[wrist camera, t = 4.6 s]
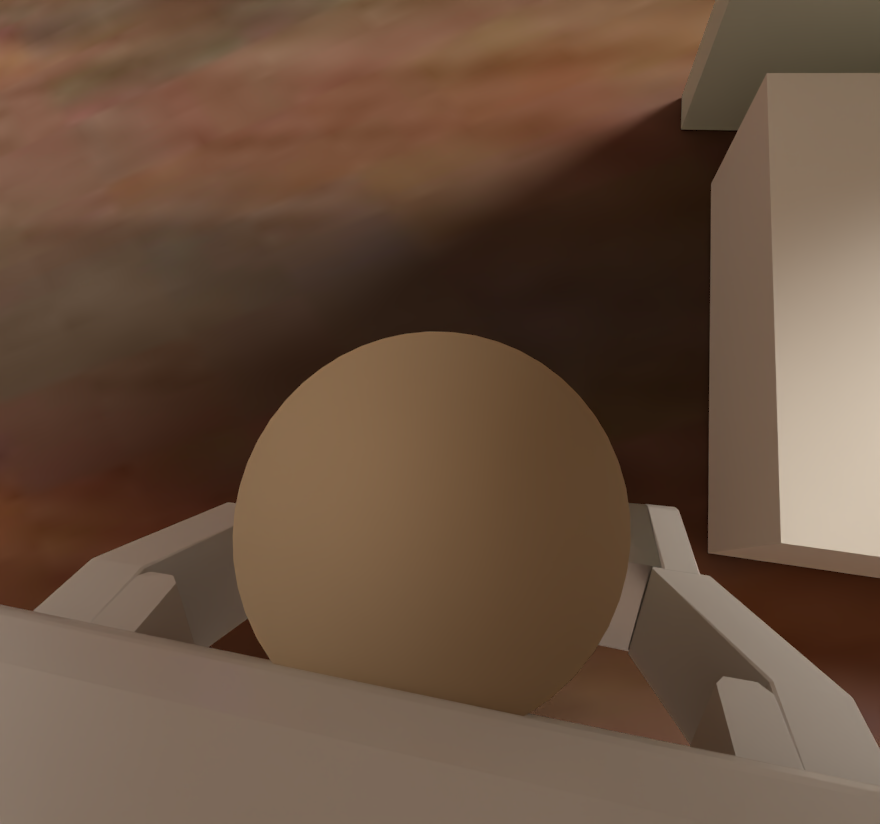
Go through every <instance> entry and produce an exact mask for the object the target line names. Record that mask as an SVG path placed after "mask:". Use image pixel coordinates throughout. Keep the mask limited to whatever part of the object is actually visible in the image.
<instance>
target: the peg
mask: <svg viewBox="0 0 880 824" xmlns="http://www.w3.org/2000/svg"><path fill="white" fill-rule="evenodd" d="M630 544H631V536H630V510H629V504H628V497H627V490H626V485H625V482H624V479H623V475H622V472H621V468H620V465H619V461H618V459H617V457H616V454H615V452H614V450H613V448H612V445H611V443H610V441H609V438H608V436H607V435H606V433H605V431H604V430H603V428H602V426H601V425H600V423H599V421H598V420H597V418H596V416H595V415H594V414H593V412H592V411H591V410H590V408H589V407H588V406H587V405H586V403H585V402H584V401H583V400H582V398H581V397H580V396H579V395H578V394H577V393H576V392H575V391H574V390H573V389H572V388H571V387H570V386H569V385H568V384H567V383H566V382H565V381H564V380H563V379H562V378H561V377H559V376H558V375H557V374H555V373H554V372H553V371H551V370H550V369H549V368H547V367H546V366H545V365H543V364H542V363H541V362H539V361H537V360H535V359H534V358H532V357H530V356H528V355H527V354H525V353H523V352H521V351H519V350H517V349H515V348H512V347H510V346H507V345H505V344H503V343H500V342H498V341H494V340H490V339H487V338H483V337H479V336H476V335H469V334H462V333H456V332H432V331H428V332H418V333H407V334H402V335H397V336H393V337H388V338H383V339H380V340H378V341H375V342H372V343H369V344H366V345H363V346H360V347H358V348H356V349H354V350H352V351H350V352H348V353H346V354H344V355H342V356H340V357H338V358H337V359H335V360H333V361H332V362H330V363H329V364H327V365H325V366H324V367H322V368H321V369H319V370H318V371H317V372H316V373H314V374H313V375H312V376H311V377H309V378H308V379H307V380H306V381H304V382H303V383H302V384H301V385H300V386H299V387H298V388H297V389H296V390H295V391H294V392H293V393H292V394H291V395H290V396H289V397H288V398H287V399H286V400H285V402H284V403H283V404H282V405H281V407H280V408H279V409H278V410H277V412H276V413H275V414H274V415H273V417H272V418H271V419H270V421H269V423H268V424H267V426H266V427H265V429H264V431H263V432H262V434H261V436H260V437H259V439H258V441H257V443H256V445H255V447H254V449H253V451H252V454H251V456H250V458H249V460H248V462H247V465H246V468H245V471H244V474H243V477H242V480H241V483H240V487H239V492H238V496H237V501H236V506H235V512H234V524H233V562H234V568H235V574H236V580H237V586H238V590H239V593H240V597H241V600H242V604H243V607H244V610H245V613H246V616H247V618H248V620H249V622H250V625H251V627H252V629H253V631H254V634H255V636H256V638H257V639H258V641H259V643H260V644H261V646H262V648H263V649H264V651H265V652H266V654H267V656H268V657H269V659H270V660H271V662H272V663H273V664H276V665H281V666H286V667H291V668H295V669H300V670H305V671H310V672H315V673H319V674H324V675H329V676H334V677H338V678H343V679H348V680H353V681H358V682H362V683H367V684H372V685H377V686H382V687H386V688H391V689H396V690H401V691H406V692H410V693H415V694H420V695H425V696H430V697H434V698H439V699H444V700H449V701H454V702H458V703H463V704H468V705H473V706H478V707H482V708H487V709H492V710H497V711H502V712H506V713H511V714H516V715H521V716H525V715H527V714H529V713H530V712H531V711H533V710H534V709H536V708H537V707H539V706H540V705H542V704H543V703H544V702H546V701H547V700H549V699H550V698H552V697H553V696H554V695H555V694H556V693H557V692H558V691H559V690H560V689H562V688H563V687H564V686H565V685H566V684H567V683H568V682H569V681H570V680H571V679H572V678H573V677H574V676H575V675H576V674H577V673H578V671H579V670H580V669H581V668H582V666H583V665H584V664H585V663H586V661H587V660H588V659H589V658H590V656H591V655H592V654H593V653H594V651H595V649H596V647H597V646H598V644H599V642H600V641H601V639H602V637H603V636H604V634H605V632H606V631H607V629H608V627H609V625H610V622H611V620H612V617H613V615H614V613H615V610H616V608H617V605H618V603H619V601H620V597H621V593H622V590H623V586H624V582H625V578H626V574H627V569H628V561H629V552H630Z"/></svg>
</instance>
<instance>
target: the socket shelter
mask: <svg viewBox="0 0 880 824" xmlns="http://www.w3.org/2000/svg"><path fill="white" fill-rule="evenodd" d="M681 130H737V133H736V135H735V137H734V139H733V141H732V143H731V145H730V147H729V149H728V151H727V153H726V155H725V157H724V159H723V161H722V163H721V165H720V167H719V169H718V171H717V173H716V175H715V177H714V179H713V181H712V183H711V251H710V363H709V475H708V553H711V554H717V555H724V556H731V557H738V558H745V559H752V560H758V561H765V562H772V563H779V564H786V565H793V566H800V567H806V568H813V569H820V570H827V571H834V572H841V573H847V574H854V575H861V576H868V577H875V578H880V0H716V1H715V4H714V6H713V9H712V12H711V15H710V18H709V21H708V23H707V26H706V29H705V32H704V35H703V38H702V40H701V43H700V46H699V49H698V52H697V55H696V58H695V60H694V63H693V66H692V69H691V72H690V75H689V77H688V80H687V83H686V86H685V89H684V92H683V94H682V109H681Z"/></svg>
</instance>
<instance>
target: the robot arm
mask: <svg viewBox="0 0 880 824" xmlns="http://www.w3.org/2000/svg"><path fill="white" fill-rule="evenodd" d="M628 504H629V510H630V536H631V544H630V552H629V561H628V569H627V574H626V578H625V582H624V586H623V590H622V593H621V597H620V601H619V603H618V605H617V608H616V610H615V613H614V615H613V617H612V620H611V622H610V625H609V627H608V629H607V631H606V632H605V634H604V636H603V637H602V639H601V641H600V642H599V644H598V645H601V646H605V647H610V648H615V649H620V650H625V651H629V652H628V654H629V656H630V657H631V659H632V660H633V662H634V663H635V664H636V666H637V667H638V669H639V670H640V672H641V673H642V675H643V676H644V678H645V679H646V681H647V682H648V684H649V685H650V686H651V688H652V689H653V691H654V692H655V694H656V695H657V697H658V698H659V700H660V701H661V703H662V704H663V706H664V707H665V708H666V710H667V711H668V713H669V714H670V716H671V717H672V719H673V720H674V722H675V723H676V725H677V726H678V728H679V729H680V730H681V732H682V733H683V735H684V736H685V738H686V739H687V741H688V742H689V744H690V746H685V745H680V744H675V743H670V742H665V741H660V740H656V739H651V738H646V737H641V736H636V735H631V734H627V733H622V732H617V731H612V730H607V729H602V728H598V727H593V726H588V725H583V724H578V723H573V722H569V721H564V720H559V719H554V718H549V717H544V716H540V715H535V714H530V713H529V714H527V715H525V716H521V715H516V714H511V713H506V712H502V711H497V710H492V709H487V708H482V707H478V706H473V705H468V704H463V703H458V702H454V701H449V700H444V699H439V698H434V697H430V696H425V695H420V694H415V693H410V692H406V691H401V690H396V689H391V688H386V687H382V686H377V685H372V684H367V683H362V682H358V681H353V680H348V679H343V678H338V677H334V676H329V675H324V674H319V673H315V672H310V671H305V670H300V669H295V668H291V667H286V666H281V665H276V664H273V663H272V662H271V660H268V659H263V658H258V657H253V656H248V655H244V654H239V653H234V652H229V651H224V650H219V649H214V648H210V647H209V646H211V645H212V644H213V643H215V642H216V641H217V640H219V639H220V638H222V637H223V636H224V635H226V634H227V633H229V632H230V631H231V630H233V629H234V628H235V627H237V626H238V625H240V624H241V623H242V622H244V621H245V620H246V619H248V618H247V616H246V613H245V610H244V607H243V604H242V600H241V597H240V593H239V590H238V586H237V580H236V574H235V568H234V562H233V524H234V512H235V506H236V503H230V502H227V503H225V504H222V505H220V506H218V507H215V508H213V509H210V510H208V511H205V512H203V513H201V514H198V515H196V516H193V517H191V518H189V519H186V520H184V521H181V522H179V523H176V524H174V525H172V526H169V527H167V528H164V529H162V530H160V531H157V532H155V533H152V534H150V535H147V536H145V537H143V538H140V539H138V540H135V541H133V542H130V543H128V544H126V545H123V546H121V547H118V548H116V549H114V550H111V551H109V552H106V553H104V554H101V555H99V556H97V557H94V558H92V559H91V560H90V561H89V562H87V563H86V564H85V565H84V566H83V567H82V568H81V569H80V570H78V571H77V572H76V573H75V574H74V575H73V576H72V577H71V578H69V579H68V580H67V581H66V582H65V583H64V584H63V585H62V586H60V587H59V588H58V589H57V590H56V591H55V592H54V593H53V594H51V595H50V596H49V597H48V598H47V599H46V600H45V601H44V602H42V603H41V604H40V605H39V606H38V607H37V608H36V609H35V610H33V611H30V610H25V609H20V608H15V607H11V606H6V605H1V604H0V824H880V749H879V747H878V745H877V743H876V741H875V739H874V737H873V736H872V734H871V732H870V730H869V728H868V726H867V724H866V722H865V720H864V718H863V716H862V715H861V713H860V711H859V709H858V707H857V705H856V703H855V701H854V699H853V698H852V697H851V696H850V695H849V694H848V693H847V692H845V691H844V690H843V689H842V688H841V687H840V686H838V685H837V684H836V683H835V682H834V681H832V680H831V679H830V678H829V677H828V676H827V675H825V674H824V673H823V672H822V671H821V670H820V669H818V668H817V667H816V666H815V665H814V664H813V663H811V662H810V661H809V660H808V659H807V658H805V657H804V656H803V655H802V654H801V653H800V652H798V651H797V650H796V649H795V648H794V647H793V646H791V645H790V644H789V643H788V642H787V641H786V640H784V639H783V638H782V637H781V636H780V635H779V634H777V633H776V632H775V631H774V630H773V629H771V628H770V627H769V626H768V625H767V624H766V623H764V622H763V621H762V620H761V619H760V618H759V617H757V616H756V615H755V614H754V613H753V612H752V611H750V610H749V609H748V608H747V607H746V606H744V605H743V604H742V603H741V602H740V601H739V600H737V599H736V598H735V597H734V596H733V595H732V594H730V593H729V592H728V591H727V590H726V589H725V588H723V587H722V586H721V585H720V584H719V583H718V582H716V581H715V580H714V579H713V578H712V577H710V576H708V575H702V574H700V572H699V569H698V566H697V563H696V560H695V557H694V554H693V551H692V548H691V545H690V542H689V539H688V536H687V533H686V530H685V527H684V524H683V521H682V518H681V515H680V512H679V510H678V509H677V508H676V507H670V506H661V505H651V504H645V505H644V504H636V503H628Z"/></svg>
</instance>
